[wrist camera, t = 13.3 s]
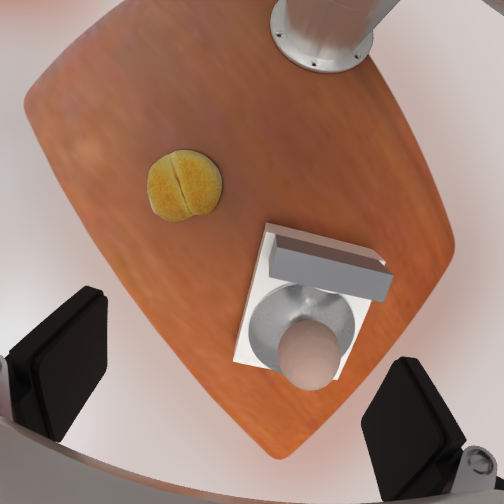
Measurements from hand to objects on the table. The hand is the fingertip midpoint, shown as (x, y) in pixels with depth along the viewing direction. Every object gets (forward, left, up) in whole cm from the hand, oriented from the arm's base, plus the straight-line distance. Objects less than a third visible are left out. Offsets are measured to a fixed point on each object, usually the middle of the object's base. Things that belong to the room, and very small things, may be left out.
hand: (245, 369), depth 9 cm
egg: (+12, +8, -25) cm, 29 cm away
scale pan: (+12, +8, -25) cm, 29 cm away
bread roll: (-1, -10, -31) cm, 32 cm away
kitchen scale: (+10, +8, -30) cm, 33 cm away
